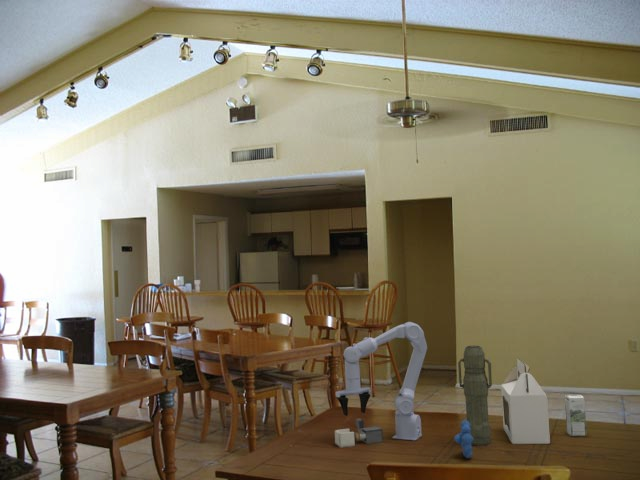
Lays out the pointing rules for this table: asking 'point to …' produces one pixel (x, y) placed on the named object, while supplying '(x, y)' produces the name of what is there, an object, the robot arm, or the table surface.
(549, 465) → the table surface
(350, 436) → the ceramic socket
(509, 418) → the gable box
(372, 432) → the charcoal sleeve
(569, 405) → the syrup box
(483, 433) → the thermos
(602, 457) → the table surface
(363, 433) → the silver cylinder with handle
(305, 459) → the table surface
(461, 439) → the grapes
